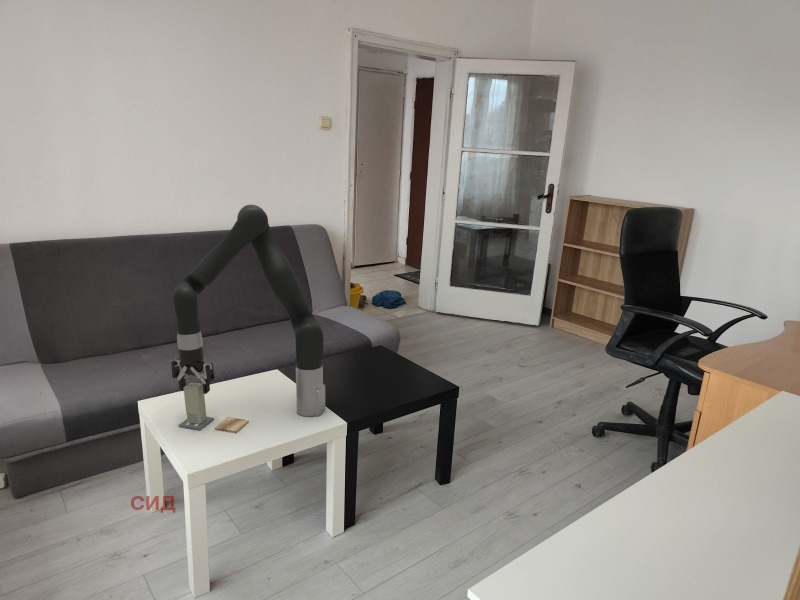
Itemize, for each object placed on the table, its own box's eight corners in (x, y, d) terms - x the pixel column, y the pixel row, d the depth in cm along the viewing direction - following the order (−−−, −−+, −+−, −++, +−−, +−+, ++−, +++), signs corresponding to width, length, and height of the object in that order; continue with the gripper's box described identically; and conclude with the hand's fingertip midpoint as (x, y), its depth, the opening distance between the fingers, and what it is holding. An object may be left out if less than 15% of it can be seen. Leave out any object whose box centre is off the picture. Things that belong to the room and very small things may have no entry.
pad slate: (214, 419, 189) (213, 417, 189) (200, 430, 182) (199, 428, 182) (193, 416, 191) (193, 413, 191) (178, 427, 184) (178, 424, 183)
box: (207, 418, 188) (204, 383, 185) (201, 424, 184) (198, 388, 180) (192, 417, 189) (189, 381, 185) (185, 423, 184) (182, 387, 181)
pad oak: (249, 422, 188) (248, 420, 188) (236, 433, 181) (236, 431, 180) (227, 418, 190) (227, 416, 190) (214, 429, 183) (214, 427, 182)
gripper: (216, 343, 181) (220, 389, 185) (178, 339, 184) (182, 384, 189) (203, 351, 174) (207, 399, 178) (163, 346, 177) (168, 393, 182)
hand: (194, 391), depth 183 cm, fingers open, 8 cm apart
